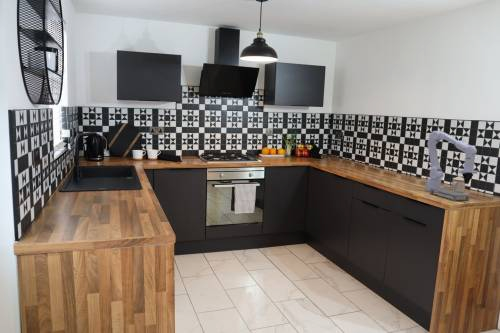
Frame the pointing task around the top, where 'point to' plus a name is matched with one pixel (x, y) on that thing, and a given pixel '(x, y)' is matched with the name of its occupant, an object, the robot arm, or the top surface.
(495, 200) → the top surface
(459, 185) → the teacup with lid
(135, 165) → the top surface
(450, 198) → the tray
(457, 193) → the shelf
